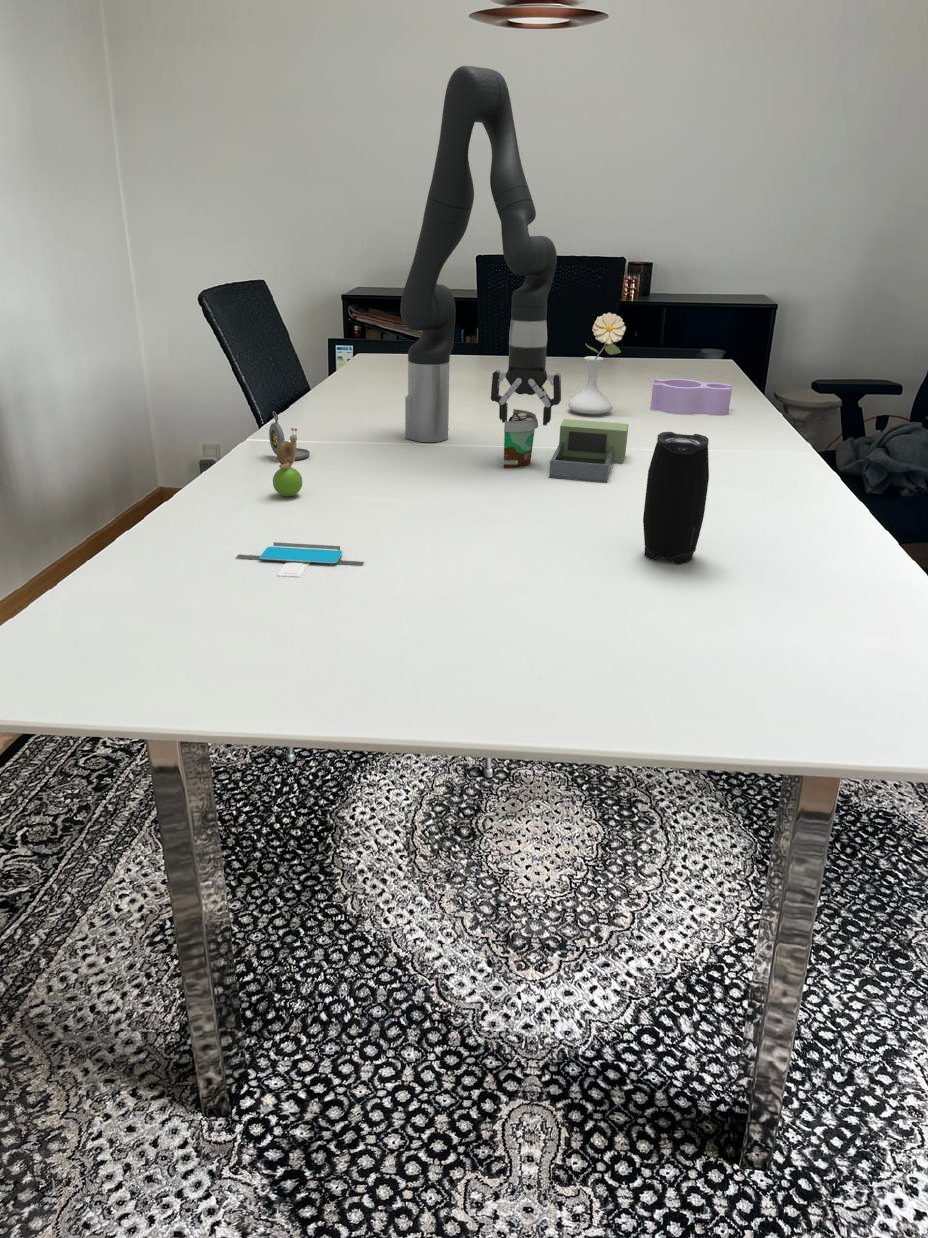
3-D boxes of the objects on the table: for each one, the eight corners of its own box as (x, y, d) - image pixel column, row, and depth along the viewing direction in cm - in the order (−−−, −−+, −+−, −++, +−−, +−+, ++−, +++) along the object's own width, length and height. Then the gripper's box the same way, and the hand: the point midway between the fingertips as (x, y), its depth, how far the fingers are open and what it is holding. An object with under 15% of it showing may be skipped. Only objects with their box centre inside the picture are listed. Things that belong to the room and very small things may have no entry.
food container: (531, 472, 198) (534, 423, 193) (502, 469, 199) (504, 421, 194) (539, 456, 208) (542, 410, 204) (511, 454, 210) (513, 408, 205)
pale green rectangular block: (557, 458, 207) (560, 426, 205) (561, 450, 214) (564, 418, 211) (623, 463, 205) (626, 431, 202) (625, 455, 211) (628, 423, 208)
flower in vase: (562, 414, 245) (569, 312, 235) (574, 405, 255) (581, 307, 244) (612, 420, 241) (621, 316, 230) (622, 411, 250) (632, 311, 240)
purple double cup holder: (727, 408, 258) (731, 382, 255) (728, 418, 247) (732, 391, 244) (652, 402, 261) (654, 377, 259) (649, 412, 250) (652, 385, 248)
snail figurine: (310, 492, 182) (308, 429, 176) (294, 501, 176) (291, 437, 171) (285, 488, 183) (281, 426, 178) (268, 498, 178) (264, 433, 172)
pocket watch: (315, 455, 205) (313, 408, 200) (293, 464, 198) (290, 416, 194) (283, 450, 208) (281, 403, 204) (260, 459, 201) (257, 411, 197)
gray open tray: (549, 477, 194) (550, 460, 193) (559, 457, 208) (560, 441, 206) (606, 482, 192) (608, 465, 190) (612, 462, 206) (614, 446, 204)
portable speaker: (631, 548, 158) (643, 431, 150) (683, 545, 161) (698, 429, 152) (653, 567, 151) (667, 445, 143) (707, 563, 153) (724, 442, 145)
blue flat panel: (223, 576, 145) (222, 566, 144) (246, 548, 156) (246, 539, 155) (354, 584, 144) (354, 574, 143) (369, 555, 154) (368, 545, 154)
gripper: (489, 344, 191) (487, 425, 198) (560, 347, 188) (556, 429, 195) (496, 338, 198) (494, 417, 204) (565, 341, 195) (561, 421, 202)
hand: (524, 423), depth 200 cm, fingers open, 8 cm apart
